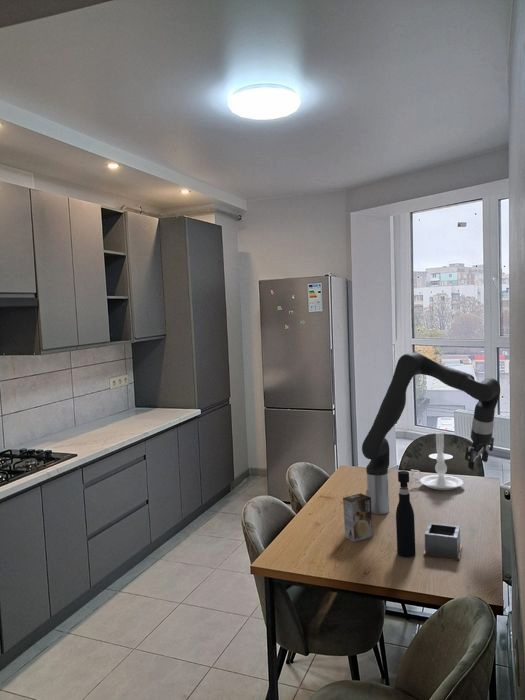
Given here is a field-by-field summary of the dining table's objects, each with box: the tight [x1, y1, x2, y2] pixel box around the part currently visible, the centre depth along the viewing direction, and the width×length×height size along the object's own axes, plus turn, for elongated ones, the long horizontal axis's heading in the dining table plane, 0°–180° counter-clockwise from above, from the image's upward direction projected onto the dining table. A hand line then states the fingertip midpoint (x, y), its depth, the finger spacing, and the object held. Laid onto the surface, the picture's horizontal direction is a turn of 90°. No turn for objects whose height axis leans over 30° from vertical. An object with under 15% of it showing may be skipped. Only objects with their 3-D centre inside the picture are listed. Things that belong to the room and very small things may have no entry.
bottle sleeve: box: [422, 522, 463, 562], centre depth 194 cm, size 12×12×8 cm
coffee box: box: [342, 493, 374, 543], centre depth 210 cm, size 9×6×16 cm
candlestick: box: [410, 432, 465, 491], centre depth 264 cm, size 21×25×28 cm
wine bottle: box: [395, 470, 417, 559], centre depth 193 cm, size 6×6×30 cm
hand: (477, 464), depth 210 cm, fingers open, 8 cm apart
